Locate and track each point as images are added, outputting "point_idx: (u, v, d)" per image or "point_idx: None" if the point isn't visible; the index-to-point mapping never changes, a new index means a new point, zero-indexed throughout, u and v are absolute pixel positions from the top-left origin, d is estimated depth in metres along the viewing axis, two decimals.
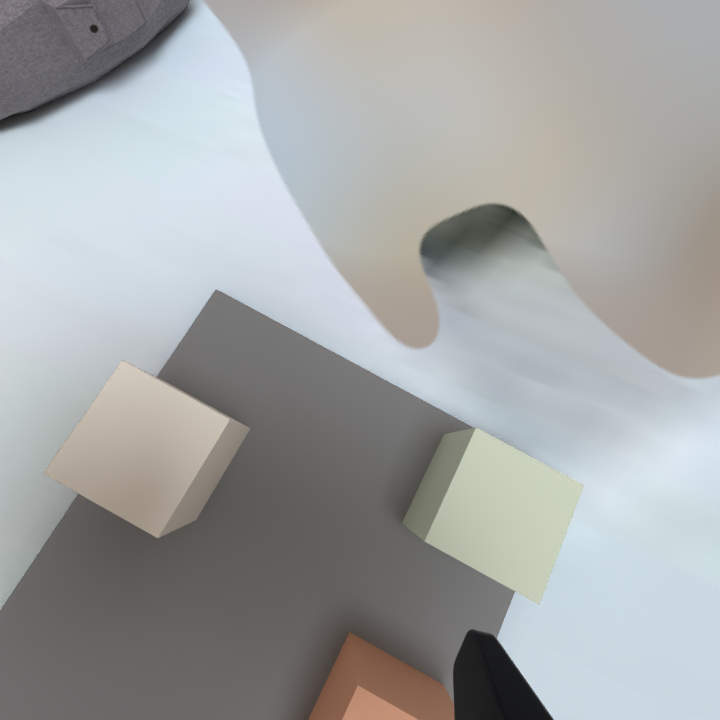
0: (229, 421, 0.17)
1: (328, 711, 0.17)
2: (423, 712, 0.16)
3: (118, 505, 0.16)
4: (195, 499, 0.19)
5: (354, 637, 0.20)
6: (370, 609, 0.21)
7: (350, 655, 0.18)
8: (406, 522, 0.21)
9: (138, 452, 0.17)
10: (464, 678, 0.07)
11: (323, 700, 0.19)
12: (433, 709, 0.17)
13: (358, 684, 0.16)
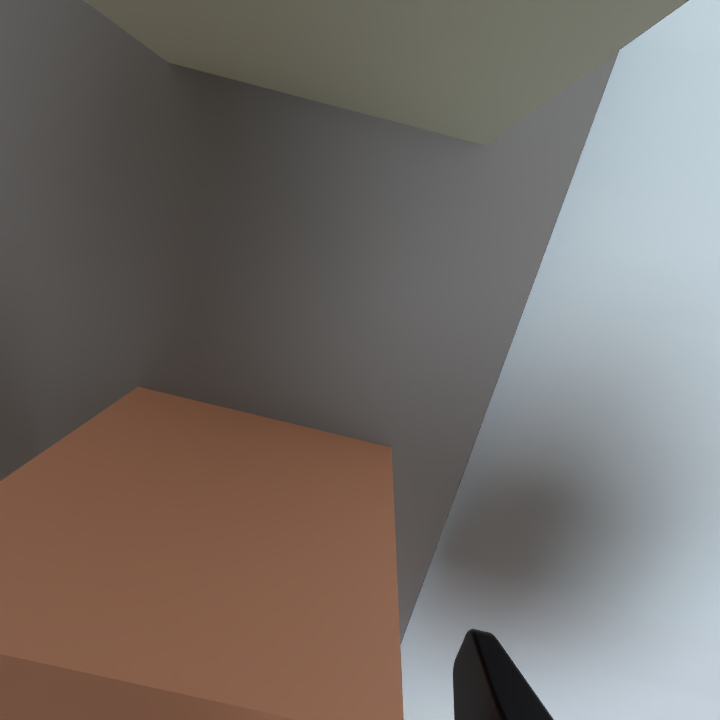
0: None
1: None
2: (195, 608, 0.04)
3: None
4: None
5: (139, 397, 0.08)
6: (167, 328, 0.08)
7: None
8: None
9: None
10: (464, 678, 0.07)
11: None
12: (280, 561, 0.05)
13: None
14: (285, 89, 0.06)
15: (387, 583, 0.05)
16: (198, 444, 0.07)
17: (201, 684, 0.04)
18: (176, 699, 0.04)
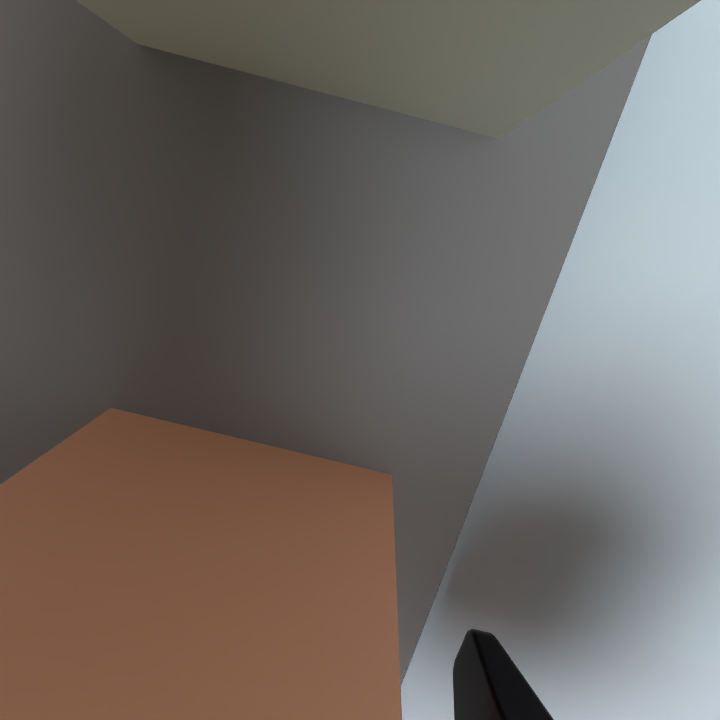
0: None
1: None
2: (151, 704, 0.04)
3: None
4: None
5: (111, 420, 0.07)
6: (142, 344, 0.07)
7: None
8: None
9: None
10: (464, 678, 0.07)
11: None
12: (259, 630, 0.04)
13: None
14: (270, 74, 0.06)
15: (387, 655, 0.04)
16: (173, 477, 0.06)
17: None
18: None
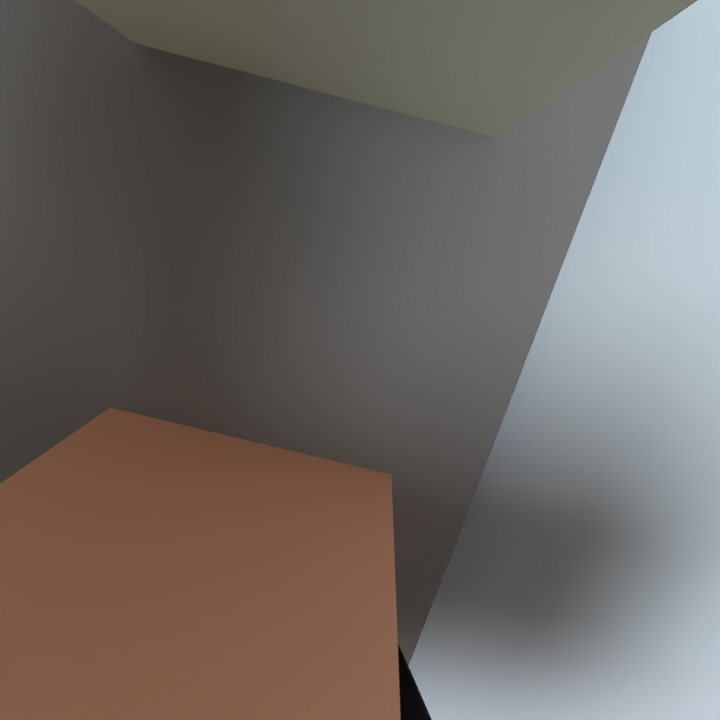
0: None
1: None
2: (150, 703, 0.04)
3: None
4: None
5: (110, 420, 0.07)
6: (141, 343, 0.07)
7: None
8: None
9: None
10: None
11: None
12: (258, 630, 0.04)
13: None
14: (269, 73, 0.06)
15: (386, 654, 0.04)
16: (172, 477, 0.06)
17: None
18: None
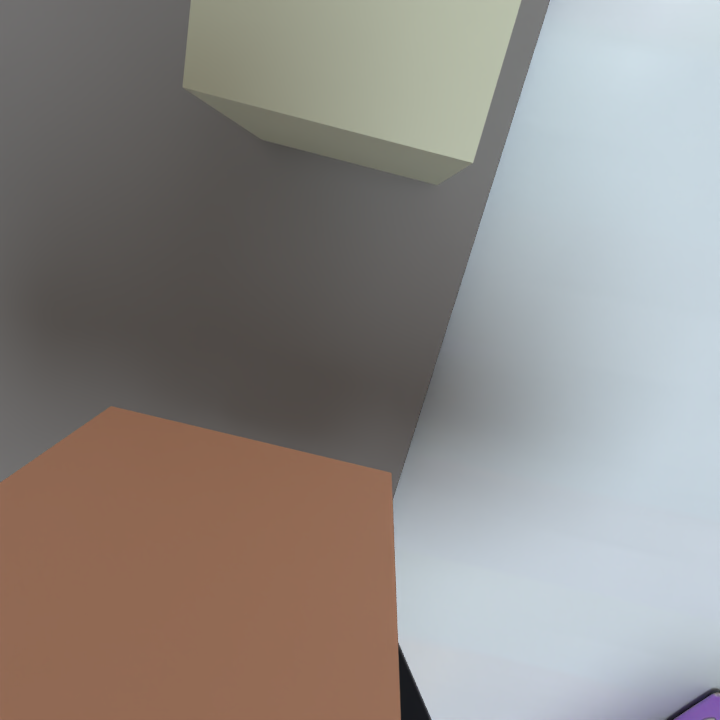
0: None
1: None
2: (151, 698, 0.04)
3: None
4: None
5: (111, 418, 0.07)
6: (252, 290, 0.13)
7: None
8: None
9: None
10: None
11: None
12: (259, 626, 0.04)
13: None
14: (327, 155, 0.12)
15: (386, 650, 0.04)
16: (173, 475, 0.06)
17: None
18: None
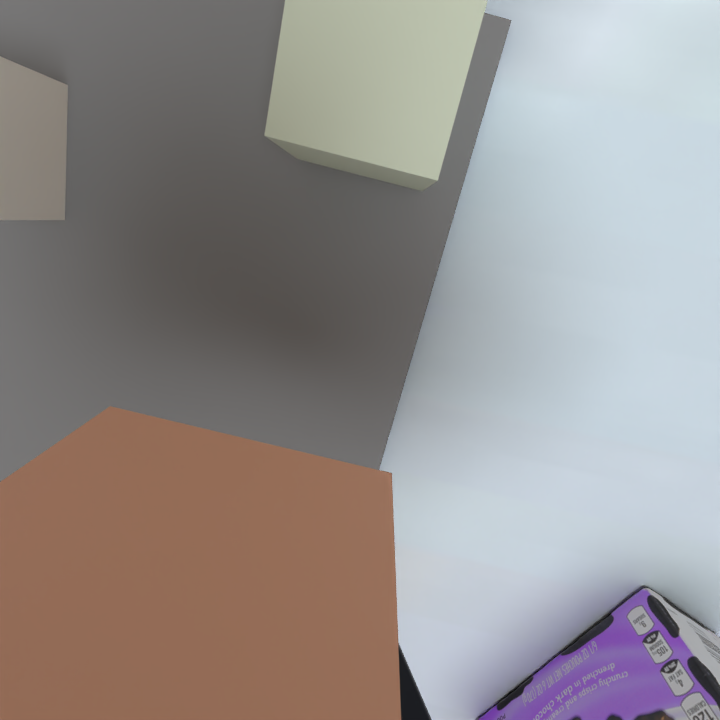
0: None
1: None
2: (149, 700, 0.04)
3: None
4: (11, 180, 0.15)
5: (110, 418, 0.07)
6: (288, 268, 0.18)
7: None
8: None
9: None
10: None
11: None
12: (259, 627, 0.04)
13: None
14: (344, 170, 0.17)
15: (386, 652, 0.04)
16: (172, 475, 0.06)
17: None
18: None
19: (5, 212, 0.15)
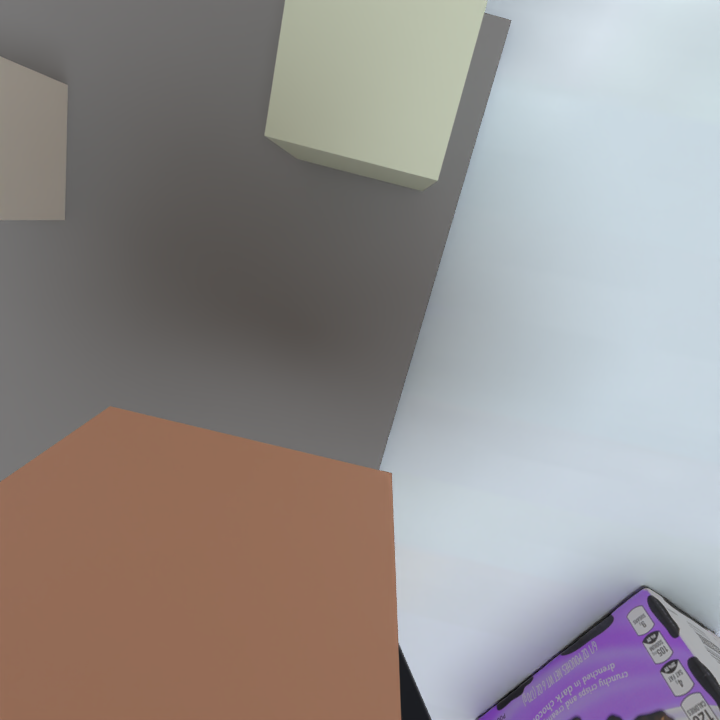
0: None
1: None
2: (149, 700, 0.04)
3: None
4: (11, 180, 0.15)
5: (110, 418, 0.07)
6: (288, 268, 0.18)
7: None
8: None
9: None
10: None
11: None
12: (259, 627, 0.04)
13: None
14: (344, 170, 0.17)
15: (386, 652, 0.04)
16: (172, 475, 0.06)
17: None
18: None
19: (5, 212, 0.15)
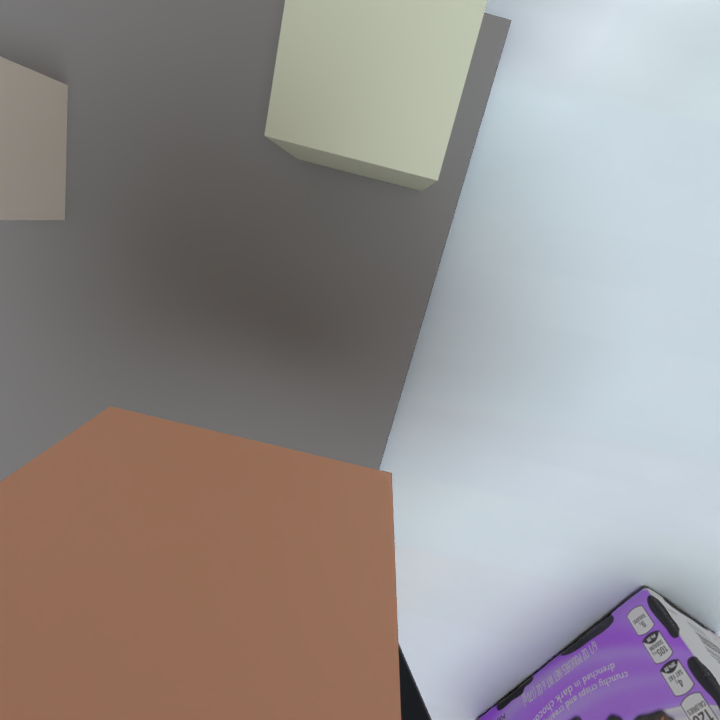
0: None
1: None
2: (149, 700, 0.04)
3: None
4: (11, 180, 0.15)
5: (110, 418, 0.07)
6: (288, 268, 0.18)
7: None
8: None
9: None
10: None
11: None
12: (259, 627, 0.04)
13: None
14: (344, 170, 0.17)
15: (386, 652, 0.04)
16: (172, 475, 0.06)
17: None
18: None
19: (5, 212, 0.15)
